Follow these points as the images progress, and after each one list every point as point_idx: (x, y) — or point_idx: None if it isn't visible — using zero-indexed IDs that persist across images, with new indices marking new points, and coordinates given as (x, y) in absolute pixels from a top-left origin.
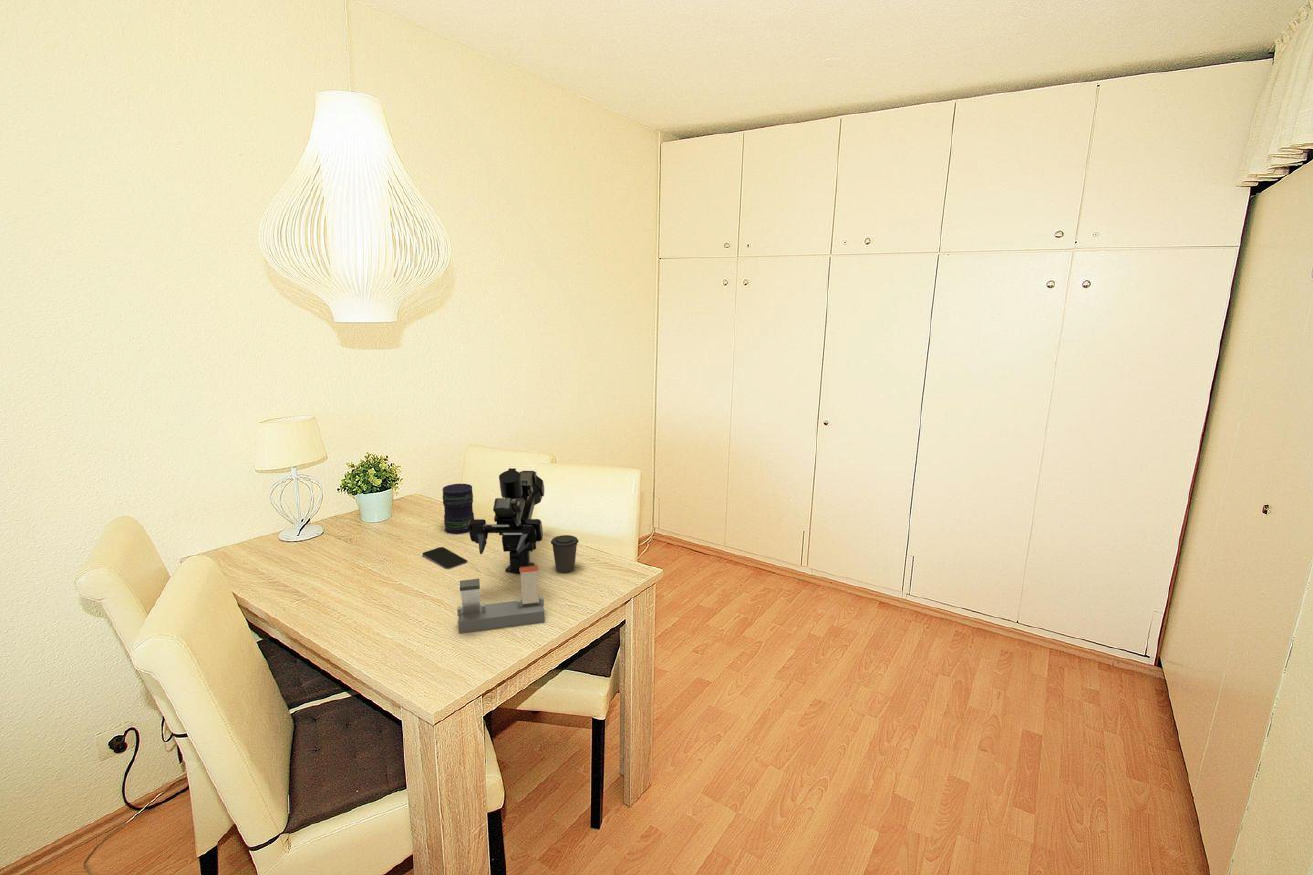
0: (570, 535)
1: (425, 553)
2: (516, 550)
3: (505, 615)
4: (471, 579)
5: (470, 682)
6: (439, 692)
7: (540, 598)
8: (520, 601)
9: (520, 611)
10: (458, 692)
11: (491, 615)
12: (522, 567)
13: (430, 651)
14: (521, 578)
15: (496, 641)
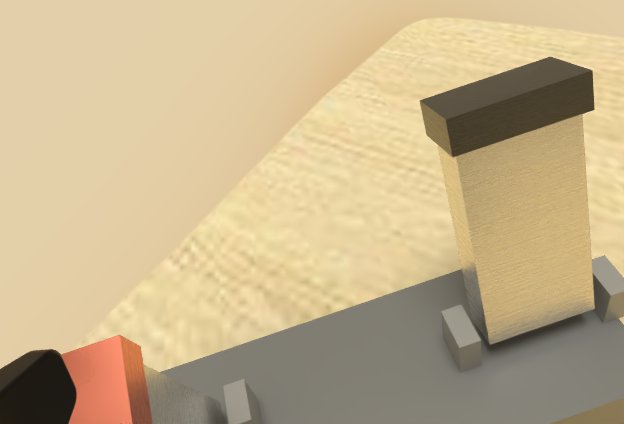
0: None
1: None
2: (48, 353)
3: (316, 323)
4: (504, 99)
5: (362, 84)
6: (430, 47)
7: None
8: (225, 390)
9: (238, 373)
10: (380, 56)
11: (395, 315)
12: (94, 352)
13: (590, 161)
14: (154, 373)
15: (343, 250)
